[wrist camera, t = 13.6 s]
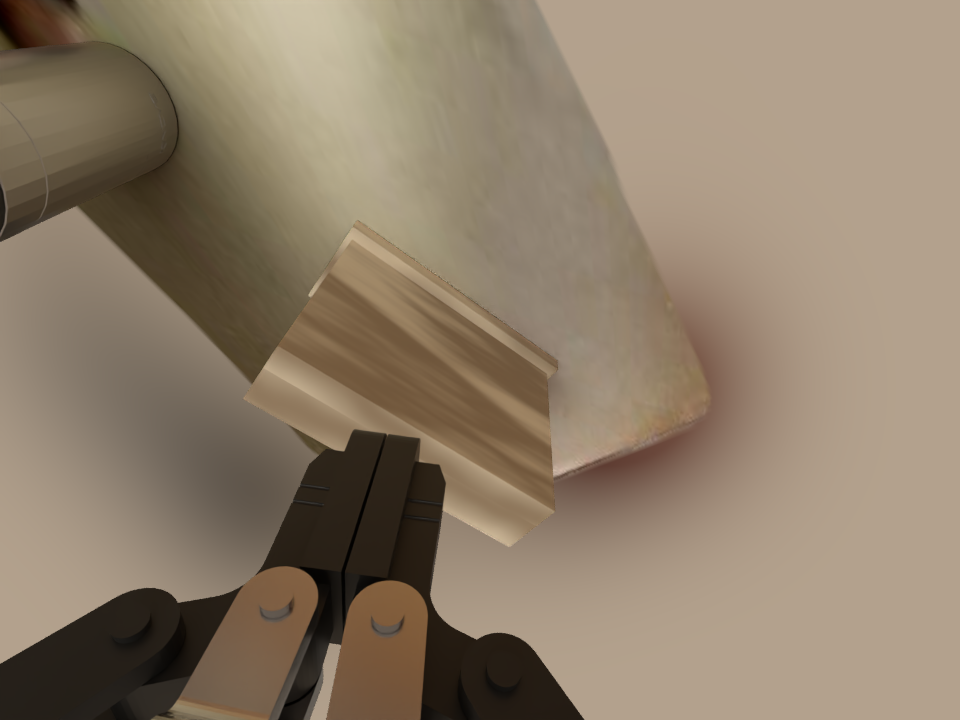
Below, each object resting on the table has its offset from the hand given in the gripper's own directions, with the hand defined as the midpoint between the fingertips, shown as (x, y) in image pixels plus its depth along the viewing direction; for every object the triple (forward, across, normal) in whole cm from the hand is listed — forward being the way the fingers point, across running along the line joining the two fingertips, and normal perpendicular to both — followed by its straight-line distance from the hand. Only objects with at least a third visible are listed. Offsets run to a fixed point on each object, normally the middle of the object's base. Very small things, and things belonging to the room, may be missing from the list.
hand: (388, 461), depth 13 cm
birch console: (+35, -2, -17) cm, 39 cm away
